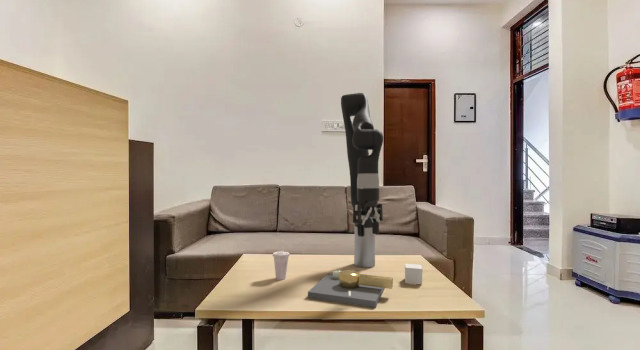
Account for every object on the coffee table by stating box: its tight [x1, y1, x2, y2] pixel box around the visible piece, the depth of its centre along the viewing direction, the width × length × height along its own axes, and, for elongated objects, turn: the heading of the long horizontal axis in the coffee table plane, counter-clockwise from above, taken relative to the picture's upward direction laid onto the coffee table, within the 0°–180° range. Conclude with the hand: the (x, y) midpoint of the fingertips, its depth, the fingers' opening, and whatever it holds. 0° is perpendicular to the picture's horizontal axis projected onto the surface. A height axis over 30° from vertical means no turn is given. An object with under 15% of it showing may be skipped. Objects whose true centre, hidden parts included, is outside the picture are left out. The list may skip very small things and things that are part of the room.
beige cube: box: [404, 263, 423, 285], centre depth 126 cm, size 6×6×6 cm
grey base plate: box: [307, 270, 386, 309], centre depth 115 cm, size 22×22×5 cm
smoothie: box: [272, 241, 290, 281], centre depth 128 cm, size 6×6×14 cm
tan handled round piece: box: [339, 269, 394, 290], centre depth 113 cm, size 18×7×4 cm, turn 71°
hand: (368, 235), depth 113 cm, fingers open, 8 cm apart
